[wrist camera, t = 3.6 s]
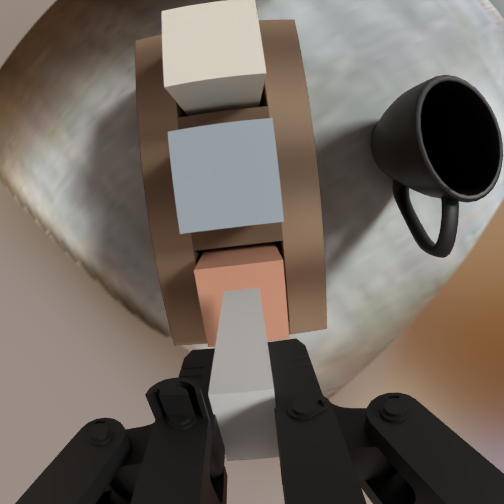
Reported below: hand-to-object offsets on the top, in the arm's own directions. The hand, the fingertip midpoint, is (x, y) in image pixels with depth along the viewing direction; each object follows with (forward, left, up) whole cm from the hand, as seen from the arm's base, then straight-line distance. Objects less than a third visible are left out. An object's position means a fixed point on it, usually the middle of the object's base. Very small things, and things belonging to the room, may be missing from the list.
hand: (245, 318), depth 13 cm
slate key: (-6, 0, -8) cm, 10 cm away
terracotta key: (0, 0, -9) cm, 9 cm away
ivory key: (-13, 0, -8) cm, 15 cm away
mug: (-6, +14, -12) cm, 20 cm away
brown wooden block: (-6, 0, -12) cm, 14 cm away
